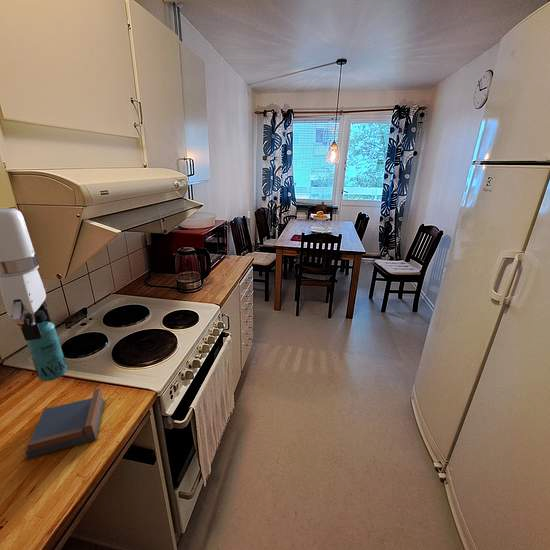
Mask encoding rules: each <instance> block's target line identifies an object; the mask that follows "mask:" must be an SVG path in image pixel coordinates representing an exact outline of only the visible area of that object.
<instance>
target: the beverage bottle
mask: <svg viewBox="0 0 550 550" xmlns="http://www.w3.org/2000/svg"><path fill="white" fill-rule="evenodd" d="M34 314H35V322H36V323H38V325H39V328H40V331H41V334H42V337H41V338H40V339H34V340H28V341H26V340H25V342H26V345H27V348H28V350H29V356H30V358H31V361H32V364H33V367H34V370H35V373H36V376H37V377H36V378H38V379H39V380H40V381H42V382H51V381H55V380H57V379H59V378H61V377H63V376H64V375H65V374H66V373H67V370H68V364H67V360H66V358H65V355H64V352H63V349H62V345H61V342H60V339H59V336H58V334H57V330H56V325H55V324H54V323H53V322H52V321H51V322H47V321H45V320H46V319H47V317H46V315H45V313H44V311H42V310H37V311H36V312H35V313H34ZM23 317H24V318H25V319H26V318H27V319H29V320H30V315H26V316H23Z"/></svg>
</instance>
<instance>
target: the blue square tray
mask: <svg viewBox="0 0 550 550" xmlns="http://www.w3.org/2000/svg"><path fill="white" fill-rule="evenodd" d="M104 403H105V401H104V397H103V392H102V390H101V388H100V387H99V388H98V387H97V388H94V390H93V393H92V397H90V398H86V399H82V400H81V399H80V400H77V401H73V402H68V403H65V404H60V405H56V406H52V407H48V408H43V410H42V413H41V415H40V417H39V420H38V422H37V424H36V427H35V429H34V431H33V433H32V436H31V437H30V440H29V441H28V443H27V445H26V446H27V447H26V449H25V451H24V452H25V454H26V456H27V459H32V458H35V457H39V456H42V455H43V456H44V455H46V454H50V453H54V452H56V451H57V452H58V451H60V450H64V449H67V448H71V447H75V446H79V445H82V444H86V443H90V442H94V441H96V440H97V436H98V430H99V427H100V422H101V417H102V413H103V408H104Z"/></svg>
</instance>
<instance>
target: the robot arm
mask: <svg viewBox="0 0 550 550" xmlns="http://www.w3.org/2000/svg"><path fill="white" fill-rule="evenodd" d="M28 230H29V229H28V227H27V224H26V222H25V218H24V215H23V213H22V212H21V211H20V210H18V209H16V208H12V207H11V208H10V207H5V208H4V207H1V208H0V294H1V297H2V301H3V304H4V307H5V311H6V314H7V316H8V317H10V318H12V321H13V322H14V323H16V324H17V326H18V327H19V328H20V330H21V332H22V336H23V337H24V340H25V342H26V341H28V340H34V339H40V338H41V337H42V334H41V331H40V328H39V325H38V323H36V322H35V314H34V313H35V312H36V311H37V310H42V311H44V313H45V315H46V317H47V319H46V320H45V321H47V322H51V323H52V319H51V318H52V317H51V315H50V312H49V309H48V304H47V303H46V298H47V293H46V289H45V285H44V283H43V281H42V278H41V274H40V272H39V270H38V269H39V268H40V265H39V262H38V259H37V255H36V253H35V248H34V245H33V243H32V240H31V237H30V233H29V231H28ZM25 311H28V312H25ZM26 315H30V320H29V319H27V318H26V319H25V318H24V316H26Z"/></svg>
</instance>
